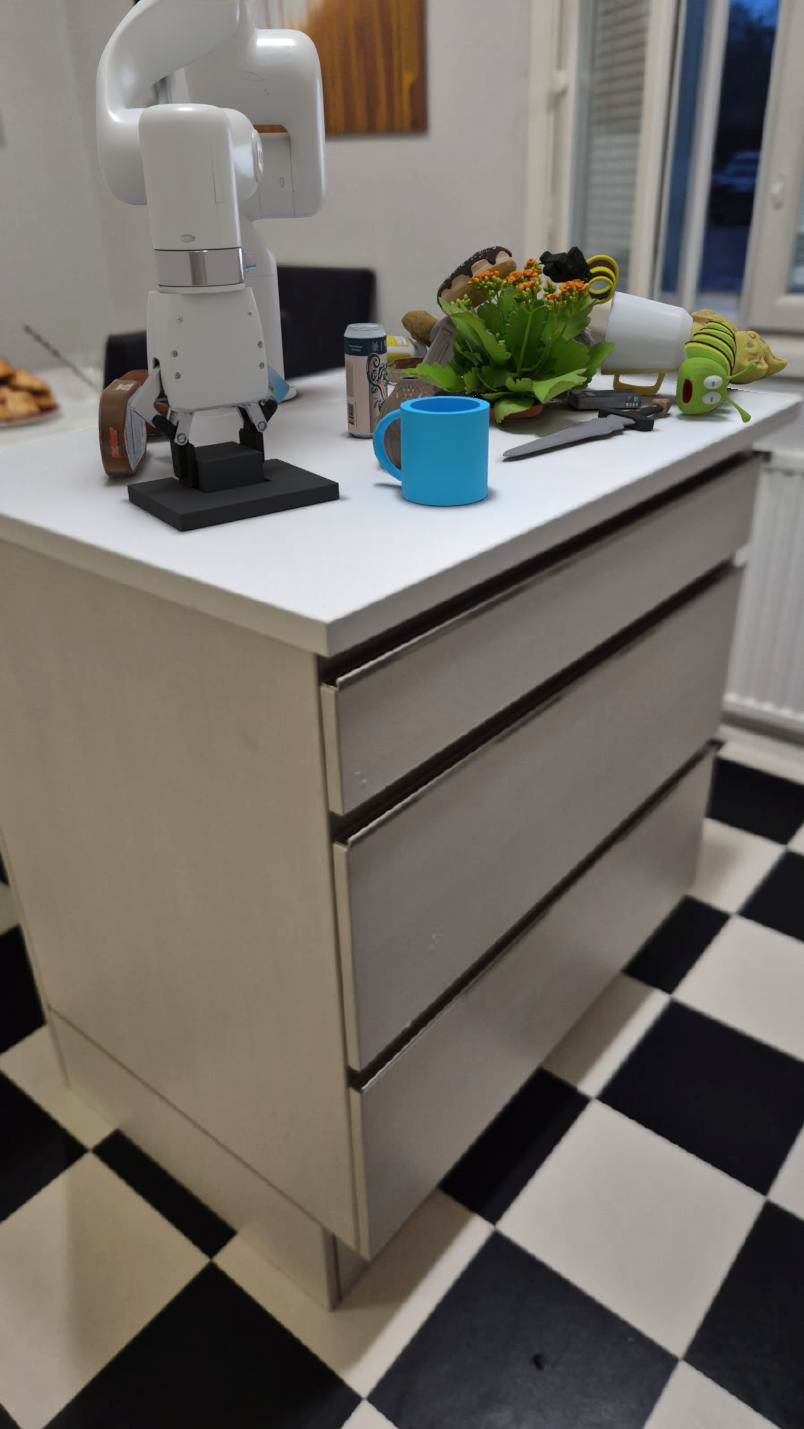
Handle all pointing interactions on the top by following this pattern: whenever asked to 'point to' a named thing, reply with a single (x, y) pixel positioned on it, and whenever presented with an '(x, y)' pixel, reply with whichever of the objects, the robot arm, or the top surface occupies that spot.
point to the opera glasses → (601, 277)
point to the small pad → (227, 466)
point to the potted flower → (518, 343)
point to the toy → (708, 370)
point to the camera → (441, 347)
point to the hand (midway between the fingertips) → (221, 476)
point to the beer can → (365, 376)
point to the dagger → (598, 426)
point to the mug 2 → (644, 339)
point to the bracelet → (401, 367)
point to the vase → (402, 392)
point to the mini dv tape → (604, 399)
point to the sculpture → (419, 325)
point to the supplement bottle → (404, 348)
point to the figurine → (743, 350)
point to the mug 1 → (439, 449)
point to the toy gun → (565, 266)
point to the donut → (475, 264)
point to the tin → (121, 429)
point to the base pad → (233, 496)
